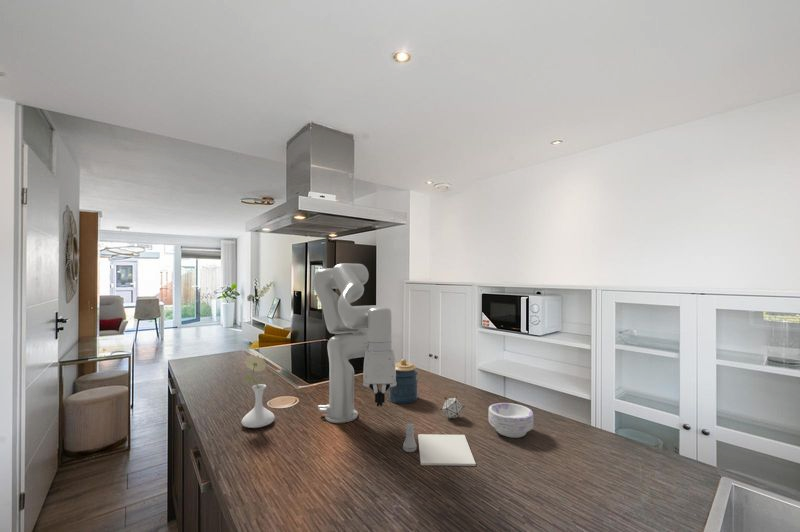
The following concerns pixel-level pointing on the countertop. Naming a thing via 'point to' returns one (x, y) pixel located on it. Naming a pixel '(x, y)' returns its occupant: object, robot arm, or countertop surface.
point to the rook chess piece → (409, 438)
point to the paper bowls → (511, 419)
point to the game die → (452, 407)
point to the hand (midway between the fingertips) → (379, 404)
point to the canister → (404, 383)
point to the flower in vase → (257, 397)
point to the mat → (445, 450)
